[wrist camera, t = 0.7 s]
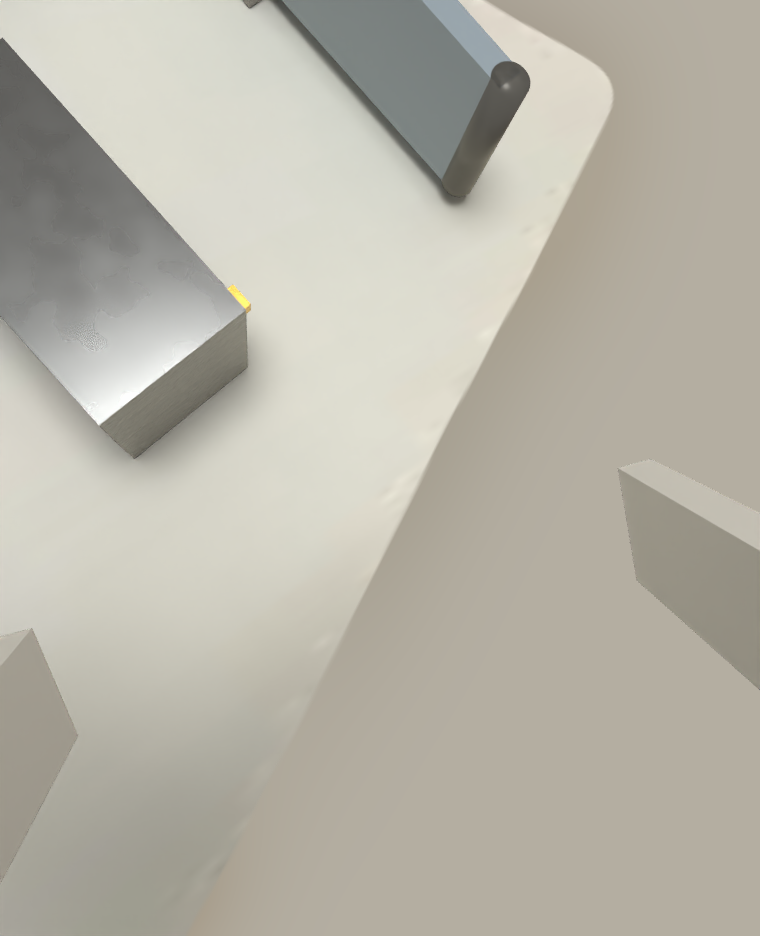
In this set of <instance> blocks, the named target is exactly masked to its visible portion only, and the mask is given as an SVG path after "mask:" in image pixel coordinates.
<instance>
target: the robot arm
mask: <svg viewBox="0 0 760 936" xmlns="http://www.w3.org/2000/svg"><path fill="white" fill-rule="evenodd" d="M618 472H619V479H620V485H621V491H622V496H623V502H624V508H625V514H626V520H627V526H628V532H629V538H630V544H631V550H632V556H633V562H634V567H635V574H636V579H637V581H638V582H639V583H640V584H641V585H643V586H644V587H645V588H646V589H647V590H648V591H649V592H650V593H651V594H653V595H654V596H655V597H656V598H657V599H658V600H660V602H662V603H663V604H664V605H665V606H666V607H667V608H668V609H670V610H671V611H672V612H673V613H674V614H675V615H676V616H677V617H678V618H680V619H681V620H682V621H683V622H684V623H685V624H686V625H687V626H688V627H690V628H691V629H692V630H693V631H694V632H695V633H696V634H697V635H699V636H700V637H701V638H702V639H703V640H704V641H705V642H707V644H709V645H710V646H711V647H712V648H713V649H714V650H715V651H716V652H718V653H719V654H720V655H721V656H722V657H723V658H724V659H725V660H727V661H728V662H729V663H730V664H731V665H732V666H733V667H734V668H735V669H737V670H738V671H739V672H740V673H741V674H742V675H743V676H744V677H746V678H747V679H748V680H749V681H750V682H751V683H752V684H753V685H755V686H756V687H757V688H758V689H759V690H760V513H758V512H757V511H754V510H753V509H750V508H749V507H747V506H745V505H743V504H740V503H738V502H736V501H734V500H732V499H730V498H728V497H726V496H724V495H722V494H720V493H718V492H716V491H714V490H712V489H710V488H708V487H706V486H704V485H702V484H700V483H698V482H696V481H694V480H692V479H690V478H688V477H686V476H684V475H682V474H680V473H678V472H676V471H674V470H672V469H670V468H668V467H666V466H664V465H662V464H660V463H658V462H656V461H654V460H652V459H649V460H645V461H641V462H638V463H634V464H631V465H627V466H623V467H620V468H618ZM77 737H78V735H77V732H76V730H75V728H74V725H73V723H72V721H71V718H70V716H69V714H68V711H67V709H66V706H65V704H64V702H63V699H62V697H61V695H60V692H59V690H58V688H57V685H56V683H55V681H54V678H53V676H52V674H51V671H50V669H49V667H48V664H47V662H46V660H45V657H44V655H43V653H42V650H41V648H40V646H39V643H38V641H37V639H36V636H35V634H34V631H33V629H32V628H31V629H27V630H23V631H20V632H16V633H12V634H9V635H5V636H1V637H0V884H1V882H2V880H3V878H4V876H5V874H6V872H7V870H8V868H9V866H10V864H11V863H12V861H13V859H14V857H15V855H16V853H17V851H18V849H19V847H20V845H21V843H22V842H23V840H24V838H25V836H26V834H27V832H28V830H29V828H30V826H31V824H32V822H33V821H34V819H35V817H36V815H37V813H38V811H39V809H40V807H41V805H42V803H43V801H44V800H45V798H46V796H47V794H48V792H49V790H50V788H51V786H52V784H53V782H54V780H55V779H56V777H57V775H58V773H59V771H60V769H61V767H62V765H63V763H64V761H65V759H66V758H67V756H68V754H69V752H70V750H71V748H72V746H73V744H74V742H75V740H76V738H77Z"/></svg>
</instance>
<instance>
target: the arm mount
mask: <svg viewBox="0 0 760 936" xmlns="http://www.w3.org/2000/svg"><path fill="white" fill-rule="evenodd" d="M243 1H244V3H245V4H246V5H247V6H248V7H249V8H250V7H252V6H254V5H255V4H257V3H258V2H260V1H261V0H243Z"/></svg>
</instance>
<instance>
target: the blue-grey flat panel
mask: <svg viewBox="0 0 760 936" xmlns="http://www.w3.org/2000/svg"><path fill="white" fill-rule="evenodd" d="M282 1H283V2H284V4H285V5H286V6H287V7H288V8H289V9H290V10H291V11H292V13H293V14H294V15H295V16H296V17H297V18H298V19H299V20H300V22H301V23H302V24H303V25H304V26H305V27H306V28H307V29H308V31H309V32H310V33H311V34H312V35H313V36H314V37H315V38H316V40H317V41H318V42H319V43H320V44H321V45H322V46H323V47H324V49H325V50H326V51H327V52H328V53H329V54H330V55H331V56H332V58H333V59H334V60H335V61H336V62H337V63H338V64H339V65H340V67H341V68H342V69H343V70H344V71H345V72H346V73H347V74H348V76H349V77H350V78H351V79H352V80H353V81H354V82H355V83H356V85H357V86H358V87H359V88H360V89H361V90H362V91H363V92H364V93H365V95H366V96H367V97H368V98H369V99H370V100H371V101H372V102H373V104H374V105H375V106H376V107H377V108H378V109H379V110H380V111H381V113H382V114H383V115H384V116H385V117H386V118H387V119H388V120H389V122H390V123H391V124H392V125H393V126H394V127H395V128H396V129H397V131H398V132H399V133H400V134H401V135H402V136H403V137H404V138H405V140H406V141H407V142H408V143H409V144H410V145H411V146H412V147H413V149H414V150H415V151H416V152H417V153H418V154H419V155H420V156H421V158H422V159H423V160H424V161H425V162H426V163H427V164H428V165H429V167H430V168H431V169H432V170H433V171H434V172H435V173H436V174H437V176H438V177H439V178H440V179H441V180H442V185H443V187H444V189H445V190H446V191H447V192H448V193H449V194H451V195H453V196H456V197H462V196H466V195H467V194H469V193H470V192H471V190H472V188H473V187H474V185H475V183H476V182H477V180H478V178H479V176H480V175H481V173H482V171H483V169H484V168H485V166H486V164H487V162H488V161H489V159H490V157H491V155H492V154H493V152H494V150H495V148H496V147H497V145H498V143H499V141H500V140H501V138H502V136H503V134H504V133H505V131H506V129H507V127H508V126H509V124H510V122H511V120H512V119H513V117H514V115H515V113H516V112H517V110H518V108H519V106H520V105H521V103H522V101H523V99H524V98H525V96H526V94H527V92H528V91H529V88H530V78H529V75H528V73H527V72H526V70H525V69H524V68H523V67H522V66H521V65H519V64H517V63H515V62H512V61H511V60H510V59H509V58H508V57H507V55H506V54H505V53H504V52H503V51H502V50H501V49H500V47H499V46H498V45H497V44H496V43H495V42H494V41H493V40H492V38H491V37H490V36H489V35H488V34H487V33H486V32H485V31H484V29H483V28H482V27H481V26H480V25H479V24H478V23H477V22H476V20H475V19H474V18H473V17H472V16H471V15H470V14H469V13H468V11H467V10H466V9H465V8H464V7H463V6H462V5H461V3H460V2H459V1H458V0H282Z"/></svg>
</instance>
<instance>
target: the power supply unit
mask: <svg viewBox="0 0 760 936" xmlns="http://www.w3.org/2000/svg"><path fill="white" fill-rule="evenodd" d="M250 310H251V304H250V303H249V302H248V301H247V300H246V298H245V297H244V296H243V295H242V294H241V293H240V292H239V291H238V290H237V288H236V287H235V286H234V285H232V286H230V287H229V288H228V289H227V288H226V287H225V286H224V285H223V283H222V282H221V281H220V280H219V279H218V278H217V277H216V276H215V274H214V273H213V272H212V271H211V270H210V269H209V268H208V267H207V266H206V264H205V263H204V262H203V261H202V260H201V259H200V258H199V257H198V256H197V254H196V253H195V252H194V251H193V250H192V249H191V248H190V247H189V245H188V244H187V243H186V242H185V241H184V240H183V239H182V238H181V237H180V235H179V234H178V233H177V232H176V231H175V230H174V229H173V228H172V226H171V225H170V224H169V223H168V222H167V221H166V220H165V219H164V218H163V216H162V215H161V214H160V213H159V212H158V211H157V210H156V209H155V208H154V206H153V205H152V204H151V203H150V202H149V201H148V200H147V199H146V197H145V196H144V195H143V194H142V193H141V192H140V191H139V190H138V189H137V187H136V186H135V185H134V184H133V183H132V182H131V181H130V180H129V178H128V177H127V176H126V175H125V174H124V173H123V172H122V171H121V170H120V168H119V167H118V166H117V165H116V164H115V163H114V162H113V161H112V160H111V158H110V157H109V156H108V155H107V154H106V153H105V152H104V151H103V149H102V148H101V147H100V146H99V145H98V144H97V143H96V142H95V141H94V139H93V138H92V137H91V136H90V135H89V134H88V133H87V132H86V130H85V129H84V128H83V127H82V126H81V125H80V124H79V123H78V122H77V120H76V119H75V118H74V117H73V116H72V115H71V114H70V113H69V112H68V110H67V109H66V108H65V107H64V106H63V105H62V104H61V103H60V101H59V100H58V99H57V98H56V97H55V96H54V95H53V94H52V93H51V91H50V90H49V89H48V88H47V87H46V86H45V85H44V84H43V82H42V81H41V80H40V79H39V78H38V77H37V76H36V75H35V74H34V72H33V71H32V70H31V69H30V68H29V67H28V66H27V65H26V64H25V62H24V61H23V60H22V59H21V58H20V57H19V56H18V55H17V53H16V52H15V51H14V50H13V49H12V48H11V47H10V46H9V45H8V43H7V42H6V41H5V40H4V39H3V38H1V39H0V316H1V317H2V318H3V320H4V321H5V322H6V323H7V324H8V325H9V326H10V327H11V328H12V330H13V331H14V332H15V333H16V334H17V335H18V336H19V337H20V338H21V340H22V341H23V342H24V343H25V344H26V345H27V346H28V347H29V348H30V350H31V351H32V352H33V353H34V354H35V355H36V356H37V357H38V358H39V360H40V361H41V362H42V363H43V364H44V365H45V366H46V367H47V368H48V370H49V371H50V372H51V373H52V374H53V375H54V376H55V377H56V378H57V380H58V381H59V382H60V383H61V384H62V385H63V386H64V387H65V388H66V390H67V391H68V392H69V393H70V394H71V395H72V396H73V397H74V398H75V399H76V401H77V402H78V403H79V404H80V405H81V406H82V407H83V408H84V409H85V411H86V412H87V413H88V414H89V415H90V416H91V417H92V418H93V419H94V421H95V422H96V423H97V424H98V425H99V426H100V427H101V428H102V429H103V430H104V431H105V432H106V433H107V434H108V435H109V436H110V437H112V438H113V439H114V440H115V441H116V442H117V443H118V444H119V445H120V446H121V447H122V448H123V449H124V450H125V451H126V452H127V453H128V454H129V455H130V456H131V457H132V458H133V459H135V458H136V457H137V456H138V455H140V454H141V453H142V452H143V451H145V450H146V449H147V448H148V447H150V446H151V445H152V444H153V443H155V442H156V441H157V440H158V439H160V438H161V437H162V436H163V435H164V434H166V433H167V432H168V431H169V430H171V429H172V428H173V427H174V426H176V425H177V424H178V423H179V422H181V421H182V420H183V419H184V418H186V417H187V416H188V415H189V414H190V413H192V412H193V411H194V410H195V409H197V408H198V407H199V406H200V405H202V404H203V403H204V402H205V401H207V400H208V399H209V398H210V397H211V396H213V395H214V394H215V393H216V392H218V391H219V390H220V389H221V388H223V387H224V386H225V385H226V384H228V383H229V382H230V381H231V380H233V379H234V378H235V377H236V376H237V375H239V374H240V373H241V372H242V371H244V370H245V369H246V368H247V367H248V366H247V325H246V314H247V313H248V312H249V311H250Z"/></svg>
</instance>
